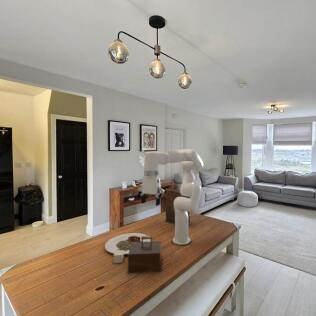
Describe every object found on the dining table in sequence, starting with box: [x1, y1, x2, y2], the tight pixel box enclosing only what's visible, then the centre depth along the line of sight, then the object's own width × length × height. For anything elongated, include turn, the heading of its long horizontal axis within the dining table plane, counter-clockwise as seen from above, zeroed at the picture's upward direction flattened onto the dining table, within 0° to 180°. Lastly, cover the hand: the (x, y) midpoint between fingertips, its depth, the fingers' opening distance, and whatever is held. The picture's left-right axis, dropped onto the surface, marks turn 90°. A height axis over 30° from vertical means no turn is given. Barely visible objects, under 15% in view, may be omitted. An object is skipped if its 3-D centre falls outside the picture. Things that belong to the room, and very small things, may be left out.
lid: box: [127, 235, 162, 257], centre depth 110 cm, size 14×17×5 cm
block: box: [113, 251, 125, 264], centre depth 113 cm, size 4×4×4 cm
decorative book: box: [165, 188, 191, 226], centre depth 174 cm, size 23×7×30 cm, turn 56°
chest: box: [127, 248, 162, 273], centre depth 110 cm, size 13×17×9 cm
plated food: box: [104, 232, 150, 255], centre depth 132 cm, size 30×30×3 cm
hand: (150, 203), depth 110 cm, fingers open, 9 cm apart
